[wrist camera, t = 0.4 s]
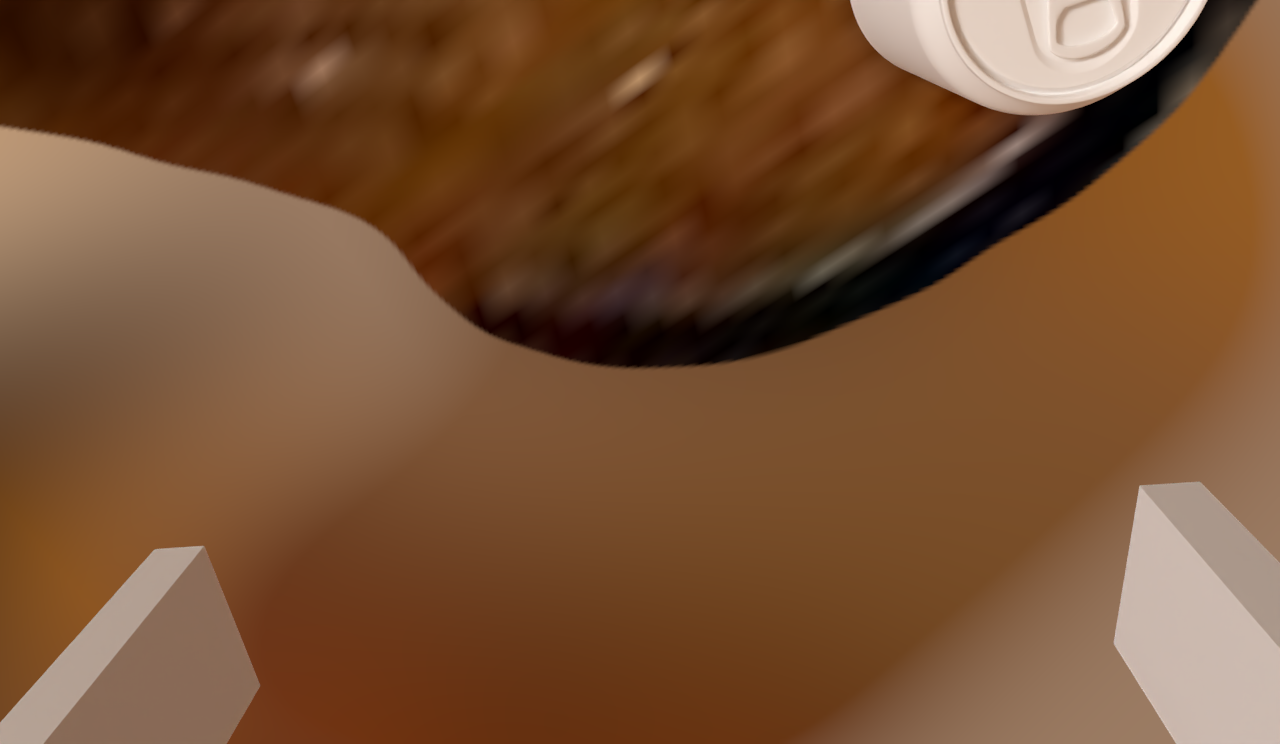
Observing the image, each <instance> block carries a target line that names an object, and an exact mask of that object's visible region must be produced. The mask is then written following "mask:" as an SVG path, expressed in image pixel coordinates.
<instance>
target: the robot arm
mask: <svg viewBox="0 0 1280 744" xmlns="http://www.w3.org/2000/svg"><path fill="white" fill-rule="evenodd" d="M1114 645H1115V646H1116V648H1117V650H1118V651H1119V653H1120V655H1121V656H1122V658H1123V659H1124V661H1125V663H1126V664H1127V666H1128V667H1129V669H1130V670H1131V672H1132V674H1133V675H1134V677H1135V679H1136V680H1137V682H1138V683H1139V685H1140V687H1141V688H1142V690H1143V691H1144V693H1145V695H1146V696H1147V698H1148V699H1149V701H1150V702H1151V704H1152V706H1153V707H1154V709H1155V711H1156V712H1157V714H1158V715H1159V717H1160V719H1161V720H1162V722H1163V723H1164V725H1165V726H1166V728H1167V730H1168V731H1169V733H1170V735H1171V736H1172V738H1173V739H1174V741H1175V743H1176V744H1280V563H1279V562H1278V561H1277V560H1276V559H1275V557H1274V556H1273V555H1272V554H1270V552H1269V551H1267V549H1266V548H1265V547H1264V546H1263V545H1262V544H1261V543H1260V542H1259V541H1258V540H1257V539H1256V538H1255V537H1254V536H1253V535H1252V534H1251V533H1250V532H1249V531H1248V530H1247V529H1246V528H1245V527H1244V526H1243V525H1242V524H1241V523H1240V522H1239V521H1238V520H1237V519H1236V518H1235V517H1234V516H1233V515H1232V514H1231V513H1230V512H1229V511H1228V510H1227V509H1226V508H1225V507H1224V506H1223V505H1222V504H1221V502H1219V500H1218V499H1217V498H1216V497H1215V496H1213V494H1212V493H1211V492H1209V490H1208V489H1207V488H1206V487H1205V486H1204V485H1203V484H1202V483H1201V482H1188V483H1172V484H1156V485H1141V486H1139V492H1138V498H1137V504H1136V510H1135V517H1134V523H1133V529H1132V535H1131V541H1130V547H1129V553H1128V559H1127V566H1126V571H1125V577H1124V584H1123V589H1122V595H1121V602H1120V608H1119V614H1118V620H1117V626H1116V632H1115V638H1114ZM259 687H260V684H259V681H258V679H257V677H256V674H255V672H254V669H253V667H252V664H251V662H250V659H249V657H248V654H247V652H246V649H245V647H244V644H243V642H242V639H241V637H240V634H239V632H238V629H237V627H236V624H235V622H234V619H233V617H232V614H231V612H230V609H229V607H228V604H227V602H226V599H225V597H224V594H223V592H222V589H221V587H220V584H219V582H218V579H217V577H216V574H215V572H214V570H213V567H212V564H211V562H210V559H209V557H208V554H207V552H206V549H205V547H204V546H196V547H182V548H181V547H180V548H166V549H155V550H154V551H153V552H152V553H151V554H150V555H149V556H148V557H147V558H146V560H145V561H144V562H143V563H142V564H141V565H140V567H138V569H137V570H136V571H135V572H134V573H133V574H132V575H131V576H130V578H129V579H128V580H127V581H126V582H125V583H124V584H123V585H122V587H121V588H120V589H119V590H118V591H117V592H116V593H115V595H113V597H112V598H111V599H110V600H109V601H108V602H107V603H106V605H105V606H104V607H103V608H102V609H101V610H100V611H99V612H98V613H97V615H96V616H95V617H94V618H93V619H92V620H91V621H90V622H89V624H88V625H87V626H86V627H85V628H84V629H83V630H82V632H81V633H80V634H79V635H78V636H77V637H76V638H75V639H74V641H73V642H72V643H71V644H70V645H69V646H68V647H67V648H66V649H65V651H64V652H63V653H62V654H61V655H60V656H59V657H58V658H57V659H56V661H55V662H54V663H53V664H52V665H51V666H50V667H49V668H48V670H47V671H46V672H45V673H44V674H43V675H42V676H41V677H40V678H39V680H38V681H37V682H36V683H35V684H34V685H33V686H32V688H31V689H30V690H29V691H28V692H27V693H26V694H25V695H24V696H23V698H22V699H21V700H20V701H19V702H18V703H17V704H16V706H15V707H14V708H13V709H12V710H11V711H10V712H9V713H8V714H7V716H6V717H5V718H4V719H3V720H2V721H1V722H0V744H227V742H228V740H229V738H230V737H231V735H232V733H233V731H234V730H235V728H236V726H237V725H238V723H239V721H240V719H241V718H242V716H243V714H244V713H245V711H246V709H247V707H248V706H249V704H250V702H251V701H252V699H253V697H254V695H255V694H256V692H257V690H258V688H259Z"/></svg>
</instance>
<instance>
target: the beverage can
mask: <svg viewBox="0 0 1280 744" xmlns="http://www.w3.org/2000/svg"><path fill="white" fill-rule="evenodd" d="M850 1H851V5H852V9H853V12H854V15H855V18H856V20H857V23H858V25H859V27H860V29H861V31H862V32H863V34H864V36H865V37H866V39H867V40H868V41H869V43H870V44H871V45H872V46H873V48H874V49H875V50H876V51H877V52H878V53H879V54H880V55H882V56H883V57H884V58H885V59H887V60H888V61H889V62H891V63H892V64H894V65H896V66H897V67H899V68H901V69H903V70H905V71H908V72H910V73H912V74H914V75H916V76H919V77H921V78H923V79H925V80H927V81H929V82H932V83H934V84H936V85H938V86H940V87H943V88H945V89H947V90H949V91H951V92H953V93H956V94H958V95H960V96H962V97H964V98H967V99H969V100H971V101H973V102H975V103H978V104H980V105H982V106H985V107H987V108H990V109H993V110H997V111H1000V112H1005V113H1010V114H1018V115H1046V114H1054V113H1060V112H1065V111H1069V110H1073V109H1077V108H1080V107H1083V106H1086V105H1089V104H1091V103H1094V102H1096V101H1098V100H1101V99H1103V98H1105V97H1107V96H1109V95H1111V94H1113V93H1114V92H1116V91H1118V90H1119V89H1121V88H1123V87H1124V86H1126V85H1128V84H1130V83H1131V82H1133V81H1135V80H1136V79H1138V78H1139V77H1141V76H1142V75H1144V74H1145V73H1146V72H1148V71H1149V70H1150V69H1152V68H1153V67H1154V66H1156V65H1157V64H1158V63H1159V62H1160V61H1161V60H1162V59H1164V58H1165V57H1166V56H1167V55H1168V54H1169V53H1170V52H1171V51H1172V50H1173V49H1174V48H1175V47H1176V46H1177V44H1178V43H1179V42H1180V41H1181V40H1182V39H1183V37H1184V36H1185V35H1186V34H1187V32H1188V31H1189V30H1190V28H1191V27H1192V26H1193V24H1194V23H1195V21H1196V20H1197V18H1198V16H1199V15H1200V13H1201V11H1202V10H1203V8H1204V6H1205V4H1206V2H1207V1H1208V0H850Z"/></svg>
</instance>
